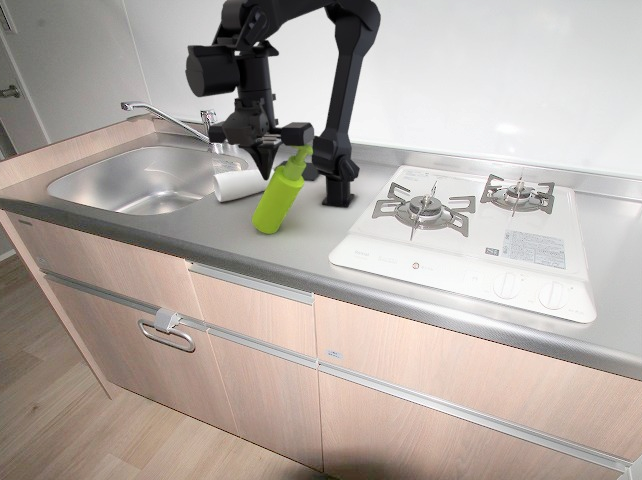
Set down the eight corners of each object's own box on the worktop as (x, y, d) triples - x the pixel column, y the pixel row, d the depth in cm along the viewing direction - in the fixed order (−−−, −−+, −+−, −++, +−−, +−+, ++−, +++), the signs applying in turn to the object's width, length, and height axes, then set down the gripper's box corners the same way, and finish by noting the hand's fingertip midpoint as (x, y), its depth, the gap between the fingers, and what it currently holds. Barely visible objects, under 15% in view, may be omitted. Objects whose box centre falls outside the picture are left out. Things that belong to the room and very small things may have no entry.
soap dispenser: (247, 208, 77) (285, 128, 64) (277, 217, 80) (319, 143, 67) (246, 227, 73) (285, 146, 60) (277, 236, 76) (322, 161, 63)
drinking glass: (274, 194, 97) (219, 206, 91) (266, 171, 97) (210, 181, 91) (281, 184, 91) (222, 196, 84) (272, 159, 91) (213, 169, 85)
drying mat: (313, 181, 98) (313, 179, 97) (266, 177, 102) (266, 175, 101) (327, 165, 107) (327, 163, 106) (284, 162, 111) (284, 160, 110)
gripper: (178, 97, 57) (200, 191, 66) (285, 96, 52) (295, 199, 60) (217, 88, 66) (232, 172, 75) (312, 86, 60) (317, 177, 69)
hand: (266, 179), depth 69 cm, fingers closed
